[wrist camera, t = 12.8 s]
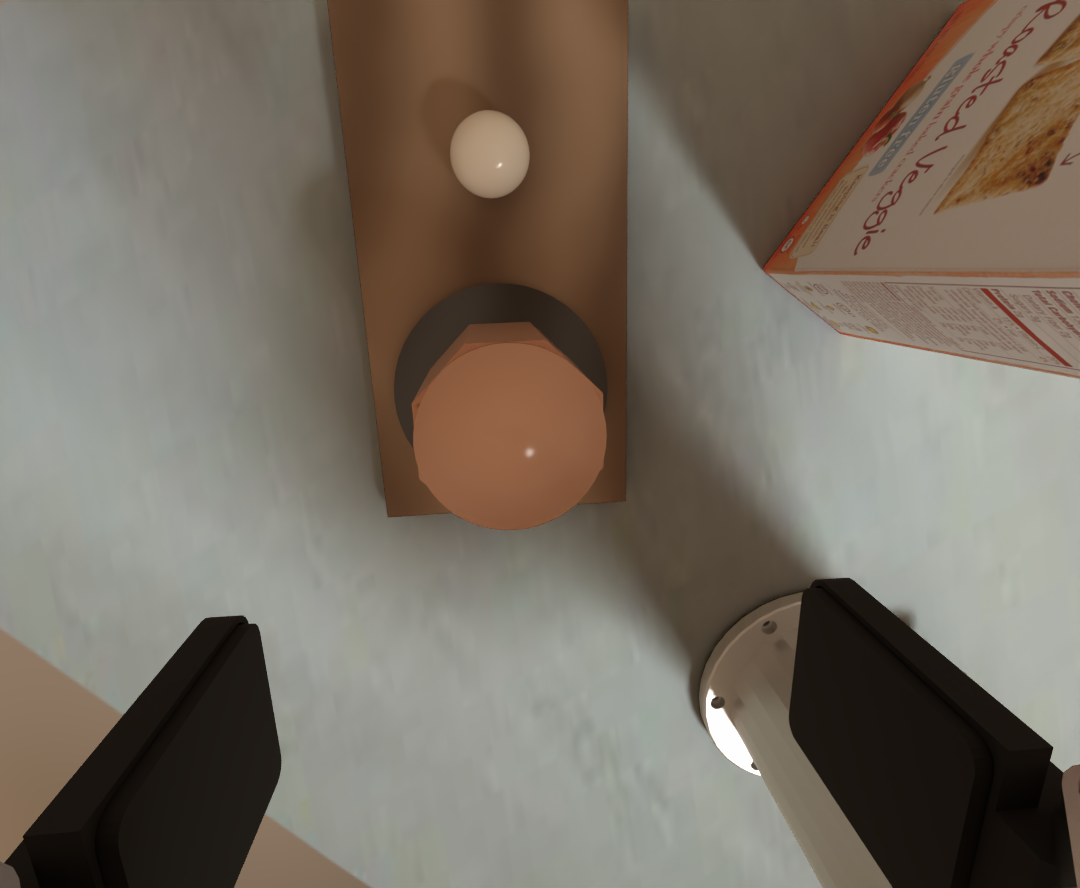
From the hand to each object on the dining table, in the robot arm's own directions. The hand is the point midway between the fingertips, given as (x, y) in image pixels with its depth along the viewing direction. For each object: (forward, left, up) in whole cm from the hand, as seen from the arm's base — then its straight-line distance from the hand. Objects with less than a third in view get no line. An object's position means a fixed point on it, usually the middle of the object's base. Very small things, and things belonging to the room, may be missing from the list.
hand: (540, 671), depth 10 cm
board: (0, -6, -21) cm, 21 cm away
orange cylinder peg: (0, -1, -19) cm, 19 cm away
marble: (0, -11, -19) cm, 22 cm away
